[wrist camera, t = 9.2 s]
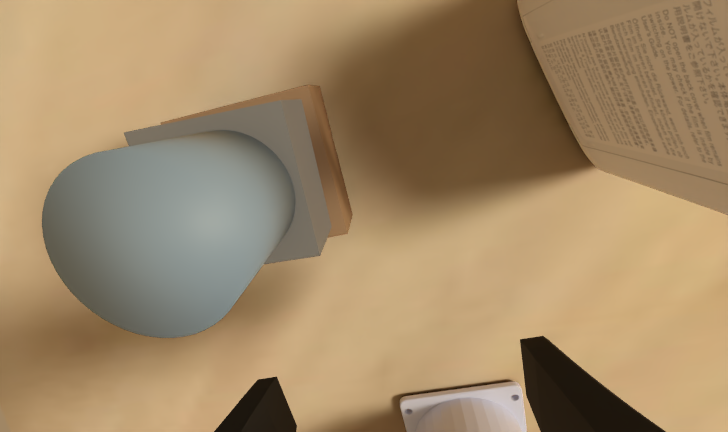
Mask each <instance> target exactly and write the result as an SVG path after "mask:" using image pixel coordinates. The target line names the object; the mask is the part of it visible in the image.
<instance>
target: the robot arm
mask: <svg viewBox="0 0 728 432" xmlns="http://www.w3.org/2000/svg"><path fill="white" fill-rule="evenodd" d="M520 343H521V352H522V361H523V369H524V378H525V387H526V396H527V398H528V401H529V403H530V406H531V408H532V411H533V413H534V416H535V418H536V421H537V423H538V426H539V428H540V431H541V432H665V431H664V430H663V429H661V428H660V427H658V426H657V425H656V424H654V423H653V422H651V421H650V420H649V419H647V418H646V417H644V416H643V415H641V414H640V413H639V412H637V411H636V410H635V409H633V408H632V407H631V406H629V405H628V404H627V403H625V402H624V401H623V400H621V399H620V398H619V397H617V396H616V395H615V394H614V393H612V392H611V391H610V390H608V389H607V388H606V387H604V386H603V385H602V384H601V383H599V382H598V381H597V380H596V379H594V378H593V377H592V376H591V375H589V374H588V373H587V372H586V371H584V370H583V369H582V368H581V367H580V366H578V365H577V364H576V363H575V362H574V361H572V360H571V359H570V358H569V357H568V356H566V355H565V354H564V353H563V352H562V351H561V350H559V349H558V348H557V347H556V346H555V345H554V344H553V343H551V342H550V341H549V340H548V339H547V338H545V337H544V336H540V337H534V338H527V339H520ZM512 395H514V396H512ZM400 409H401V413H402V416H403V420H404V424H405V427H406V431H407V432H527V428H526V419H525V411H524V403H523V394H522V389H521V387H520V385H519V384H518V383H517V382H505V383H498V384H491V385H483V386H476V387H469V388H461V389H454V390H447V391H440V392H432V393H425V394H418V395H411V396H405V397H402V398H401V399H400ZM407 409H409V410H407ZM296 428H297V425H296V423H295V420H294V418H293V416H292V413H291V411H290V408H289V406H288V403H287V401H286V398H285V396H284V394H283V391H282V389H281V386H280V384H279V381H278V379H277V377H272V378H266V379H259V380H257V381H256V383H255V384H254V385H253V386H252V387H251V388H250V389H249V391H248V392H247V393H246V394H245V395H244V397H243V398H242V399H241V400H240V401H239V403H238V404H237V405H236V406H235V407H234V409H233V410H232V411H231V412H230V413H229V415H228V416H227V417H226V418H225V419H224V421H223V422H222V423H221V424H220V425H219V427H218V428H217V429H216V430H215V431H214V432H296Z"/></svg>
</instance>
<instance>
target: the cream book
mask: <svg viewBox="0 0 728 432" xmlns="http://www.w3.org/2000/svg"><path fill="white" fill-rule="evenodd" d="M517 5H518V9H519V13H520V17H521V20H522V23H523V26H524V29H525V32H526V34H527V36H528V39H529V41H530V43H531V46H532V48H533V50H534V53H535V55H536V57H537V59H538V61H539V63H540V66H541V68H542V70H543V72H544V74H545V76H546V79H547V81H548V83H549V85H550V87H551V89H552V91H553V93H554V95H555V98H556V100H557V102H558V104H559V106H560V108H561V110H562V112H563V114H564V116H565V118H566V120H567V122H568V124H569V127H570V128H571V130H572V132H573V134H574V136H575V138H576V140H577V141H578V143H579V145H580V147H581V148H582V150H583V152H584V153H585V155H586V156H587V157H588V159H589V160H590V161H591V162H592V163H593V165H594V166H596V167H597V168H598V169H600V170H602V171H604V172H607V173H610V174H613V175H616V176H619V177H622V178H624V179H628V180H630V181H633V182H636V183H639V184H642V185H645V186H648V187H650V188H653V189H656V190H659V191H662V192H664V193H667V194H670V195H673V196H676V197H679V198H682V199H684V200H687V201H690V202H693V203H696V204H698V205H701V206H704V207H707V208H710V209H712V210H715V211H718V212H721V213H723V214H726V215H728V0H517Z"/></svg>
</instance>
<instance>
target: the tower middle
mask: <svg viewBox="0 0 728 432" xmlns="http://www.w3.org/2000/svg"><path fill="white" fill-rule="evenodd" d="M212 130H231V131H236V132H241V133H244V134H246V135H249V136H251V137H253V138H255V139H257V140H259V141H260V142H262V143H263V144H265V145H266V146H267V147H268V148H270V149H271V150H272V151H273V152H274V153H275V154H276V155H277V156H278V158H279V159H280V160H281V161H282V163H283V164H284V166H285V167H286V169H287V171H288V173H289V175H290V178H291V180H292V183H293V187H294V191H295V213H294V217H293V220H292V223H291V226H290V228H289V230H288V231H287V233H286V234H285V236H284V237H283V238H282V240H281V241H280V243H279V244H278V245H277V247H276V248H275V249H274V251H273V252H272V253H271V255H270V256H269V258H268V259H267V260H266V262H265V263H264V264H269V263H275V262H282V261H288V260H295V259H302V258H308V257H315V256H320V255H321V252H322V250H323V247H324V245H325V242H326V240H327V237H328V235H329V232H330V230H331V227H332V226H331V222H330V218H329V214H328V209H327V205H326V201H325V197H324V192H323V188H322V184H321V180H320V176H319V171H318V167H317V163H316V159H315V154H314V150H313V146H312V142H311V138H310V133H309V129H308V125H307V121H306V116H305V112H304V108H303V104H302V100H301V99H295V100H279V101H274V102H269V103H264V104H259V105H254V106H250V107H245V108H240V109H235V110H230V111H226V112H221V113H216V114H211V115H206V116H202V117H197V118H192V119H187V120H182V121H177V122H173V123H168V124H163V125H158V126H153V127H149V128H144V129H139V130H134V131H129V132H125V133H124V135H125V137H126V140H127V142H128V145H129V146H134V145H139V144H144V143H150V142H155V141H160V140H165V139H170V138H176V137H181V136H186V135H191V134H197V133H202V132H207V131H212Z"/></svg>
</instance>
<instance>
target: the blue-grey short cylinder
mask: <svg viewBox="0 0 728 432" xmlns="http://www.w3.org/2000/svg"><path fill="white" fill-rule="evenodd" d="M294 213H295V191H294V187H293V183H292V180H291V178H290V175H289V173H288V171H287V169H286V167H285V166H284V164H283V163H282V161H281V160H280V159H279V158H278V156H277V155H276V154H275V153H274V152H273V151H272V150H271V149H270V148H268V147H267V146H266V145H265V144H263V143H262V142H260V141H259V140H257V139H255V138H253V137H251V136H249V135H246V134H244V133H241V132H236V131H231V130H212V131H207V132H202V133H197V134H191V135H186V136H181V137H176V138H170V139H165V140H160V141H155V142H150V143H144V144H139V145H134V146H129V147H123V148H118V149H113V150H108V151H103V152H97V153H93V154H91V155H88V156H85V157H82V158H81V159H79V160H77V161H75V162H73V163H72V164H70V165H69V166H68V167H67V168H65V169H64V170H63V171H62V172H61V173H60V174H59V176H58V177H57V178H56V179H55V180H54V182H53V184H52V185H51V187H50V189H49V191H48V194H47V196H46V199H45V202H44V207H43V213H42V229H43V237H44V241H45V245H46V249H47V252H48V255H49V257H50V260H51V262H52V264H53V266H54V268H55V270H56V272H57V273H58V275H59V276H60V278H61V279H62V281H63V282H64V284H65V285H66V286H67V287H68V289H69V290H70V291H71V292H72V293H73V294H74V295H75V297H76V298H77V299H78V300H79V301H80V302H81V303H83V304H84V305H85V306H86V307H87V308H89V309H90V310H91V311H92V312H94V313H95V314H97V315H98V316H100V317H101V318H103V319H104V320H106V321H108V322H110V323H112V324H113V325H116V326H118V327H120V328H122V329H125V330H127V331H130V332H133V333H136V334H141V335H145V336H150V337H159V338H176V337H184V336H188V335H193V334H196V333H199V332H201V331H204V330H206V329H208V328H209V327H211V326H213V325H215V324H216V323H217V322H218V321H220V320H221V319H222V318H223V317H224V316H225V315H226V314H227V313H228V312H229V311H230V309H231V308H232V307H233V305H234V304H235V303H236V301H237V300H238V298H239V297H240V296H241V294H242V293H243V292H244V290H245V289H246V288H247V286H248V285H249V283H250V282H251V281H252V279H253V278H254V277H255V275H256V274H257V273H258V271H259V270H260V268H261V267H262V266H263V264H264V263H265V262H266V260H267V259H268V258H269V256H270V255H271V253H272V252H273V251H274V249H275V248H276V247H277V245H278V244H279V243H280V241H281V240H282V238H283V237H284V236H285V234H286V233H287V231H288V230H289V228H290V226H291V223H292V220H293V217H294Z"/></svg>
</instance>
